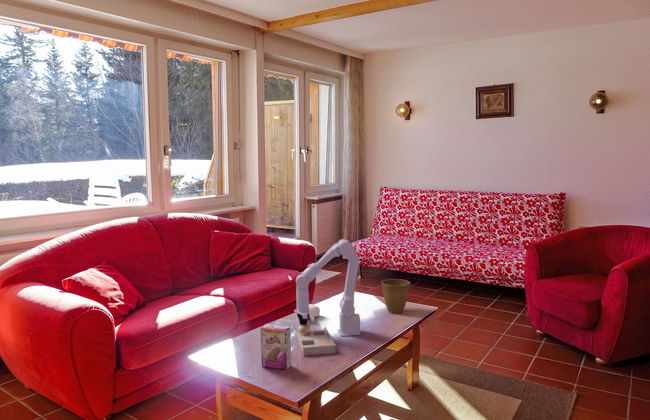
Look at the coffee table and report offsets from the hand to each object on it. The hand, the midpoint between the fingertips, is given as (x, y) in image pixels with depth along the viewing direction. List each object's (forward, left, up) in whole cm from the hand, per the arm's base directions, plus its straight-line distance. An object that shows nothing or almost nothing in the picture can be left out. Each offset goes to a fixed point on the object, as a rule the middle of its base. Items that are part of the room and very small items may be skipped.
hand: (303, 328), depth 238 cm
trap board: (-4, +13, -3) cm, 13 cm away
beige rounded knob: (0, +4, -1) cm, 4 cm away
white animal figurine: (-6, -22, -3) cm, 23 cm away
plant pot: (-53, -22, -3) cm, 57 cm away
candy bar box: (+15, +33, -3) cm, 36 cm away
